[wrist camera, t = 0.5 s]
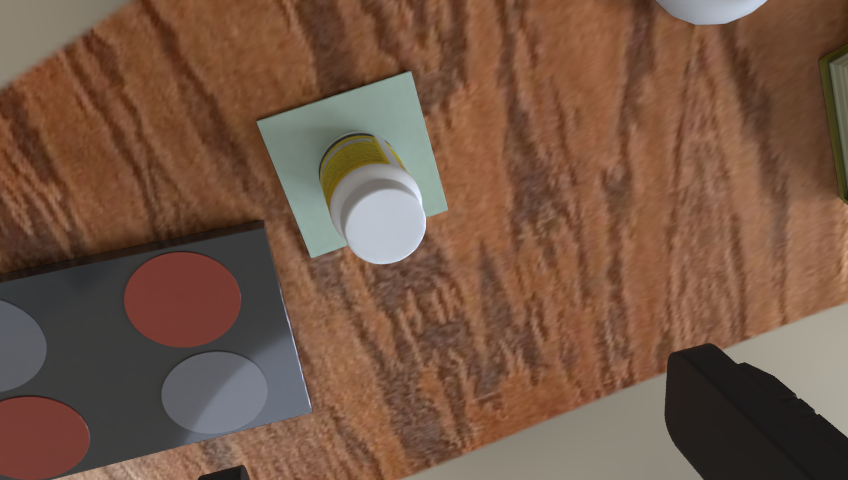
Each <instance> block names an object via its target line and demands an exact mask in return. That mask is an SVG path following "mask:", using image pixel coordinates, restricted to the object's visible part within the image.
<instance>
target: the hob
mask: <svg viewBox="0 0 848 480" xmlns="http://www.w3.org/2000/svg"><path fill="white" fill-rule="evenodd" d="M309 413H312V405H311V399H310V396H309V392H308V388H307V384H306V380H305V376H304V372H303V368H302V365H301V361H300V357H299V353H298V349H297V345H296V341H295V337H294V334H293V330H292V326H291V322H290V318H289V314H288V310H287V307H286V303H285V299H284V295H283V291H282V287H281V283H280V279H279V276H278V272H277V268H276V264H275V260H274V256H273V252H272V249H271V245H270V241H269V237H268V233H267V229H266V225H265V221H264V220H261V221H256V222H251V223H246V224H241V225H237V226H232V227H227V228H222V229H217V230H212V231H208V232H203V233H198V234H193V235H188V236H183V237H179V238H174V239H169V240H164V241H159V242H154V243H150V244H145V245H140V246H135V247H130V248H125V249H121V250H116V251H111V252H106V253H101V254H96V255H92V256H87V257H82V258H77V259H72V260H68V261H63V262H58V263H53V264H48V265H43V266H39V267H34V268H29V269H24V270H19V271H14V272H10V273H5V274H0V480H52V479H56V478H60V477H64V476H68V475H72V474H75V473H79V472H83V471H87V470H91V469H95V468H99V467H103V466H107V465H110V464H114V463H118V462H122V461H126V460H130V459H134V458H138V457H142V456H145V455H149V454H153V453H157V452H161V451H165V450H169V449H173V448H176V447H180V446H184V445H188V444H192V443H196V442H200V441H204V440H208V439H211V438H215V437H219V436H223V435H227V434H231V433H235V432H239V431H243V430H246V429H250V428H254V427H258V426H262V425H266V424H270V423H274V422H277V421H281V420H285V419H289V418H293V417H297V416H301V415H305V414H309Z"/></svg>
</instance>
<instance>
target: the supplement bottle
mask: <svg viewBox="0 0 848 480" xmlns="http://www.w3.org/2000/svg"><path fill="white" fill-rule="evenodd" d="M319 181H320V184H321V187H322V191H323V194H324V197H325V201H326V204H327V207H328V211H329V214H330V218H331V220H332V223H333V225H334V227H335V229H336V231H337V232H338V233H339V235H340V236H341V237H342V238H343V239H344V240H346V241H347V243H348V245H349V247H350V249H351V250H352V251H353V252H354V253H355V254H356V255H357V256H358V257H360V258H361V259H363V260H365V261H368V262H371V263H376V264H388V263H393V262H396V261H399V260H401V259H403V258H405V257H407V256H408V255H409V254H411V253H412V252H413V251H414V250H415V249H416V248H417V246H418V245H419V244H420V242H421V240H422V238H423V236H424V232H425V228H426V217H425V213H424V210H423V207H422V197H421V193H420V190H419V188H418V185H417V184H416V182H415V180H414V179H413V177H412V176H411V174H410V173H409V171H408V170H407V168H406V167H405V165H404V164H403V162H402V160H401V159H400V158H399V156H398V155H397V153H396V152H395V150H394V149H393V147H392V146H391V145H390V144H389V143H388V142H387V141H386V140H385V139H383V138H382V137H380V136H378V135H376V134H373V133H369V132H363V131H355V132H349V133H346V134H344V135H341V136H340V137H338V138H336V139H335V140H334V141H332V142H331V143H330V144H329V146H328V147H327V148H326V149H325V151H324V153H323V155H322V157H321V160H320V163H319Z"/></svg>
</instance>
